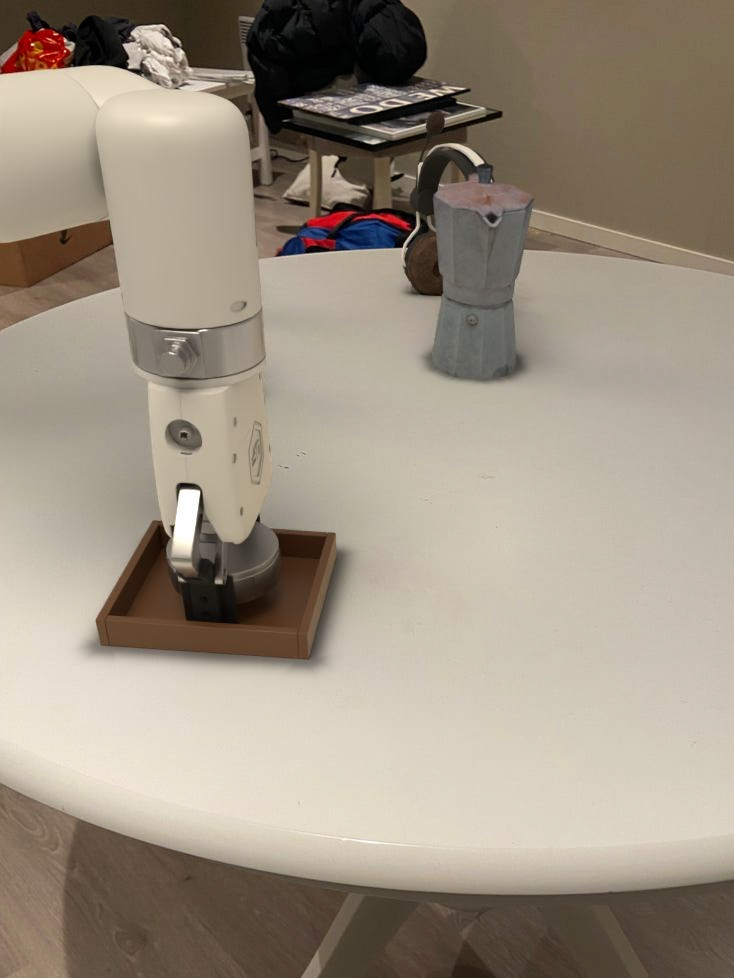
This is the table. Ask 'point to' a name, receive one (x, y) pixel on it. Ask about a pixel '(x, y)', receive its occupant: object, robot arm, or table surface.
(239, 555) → the lid
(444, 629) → the table surface
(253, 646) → the tray
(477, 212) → the moka pot
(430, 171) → the headset
